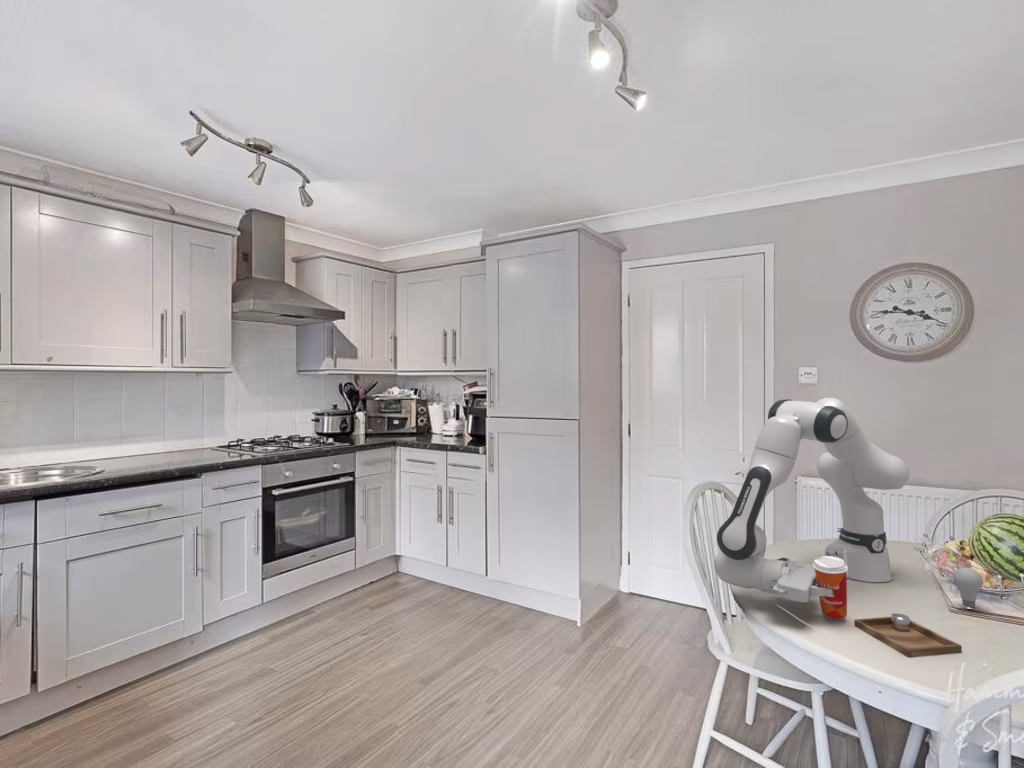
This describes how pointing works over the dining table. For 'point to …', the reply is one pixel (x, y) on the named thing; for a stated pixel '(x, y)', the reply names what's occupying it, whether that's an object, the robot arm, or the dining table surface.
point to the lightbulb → (968, 585)
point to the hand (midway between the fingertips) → (835, 587)
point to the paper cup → (832, 585)
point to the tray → (908, 638)
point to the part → (900, 622)
